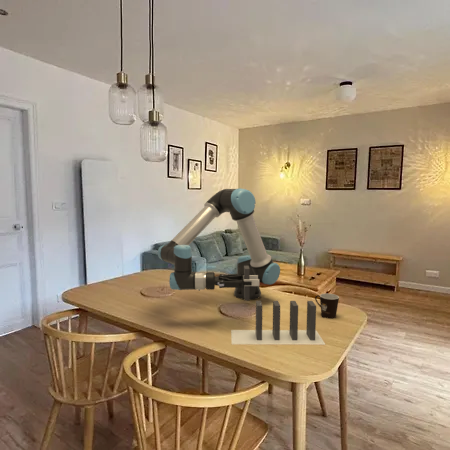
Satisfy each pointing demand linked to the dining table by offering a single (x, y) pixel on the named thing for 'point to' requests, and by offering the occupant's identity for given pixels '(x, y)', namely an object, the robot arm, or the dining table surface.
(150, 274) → the dining table surface
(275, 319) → the domino
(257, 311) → the domino
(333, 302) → the coffee mug
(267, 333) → the mat
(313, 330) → the domino
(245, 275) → the domino
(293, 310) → the domino
